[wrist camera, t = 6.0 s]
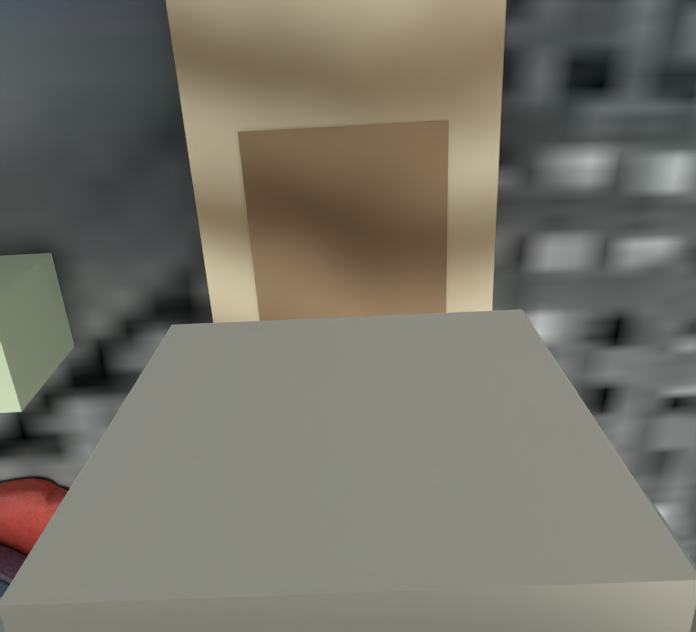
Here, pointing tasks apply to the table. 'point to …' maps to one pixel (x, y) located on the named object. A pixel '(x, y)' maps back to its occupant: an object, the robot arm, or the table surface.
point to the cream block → (354, 492)
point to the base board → (342, 153)
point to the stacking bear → (23, 521)
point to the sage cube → (30, 327)
